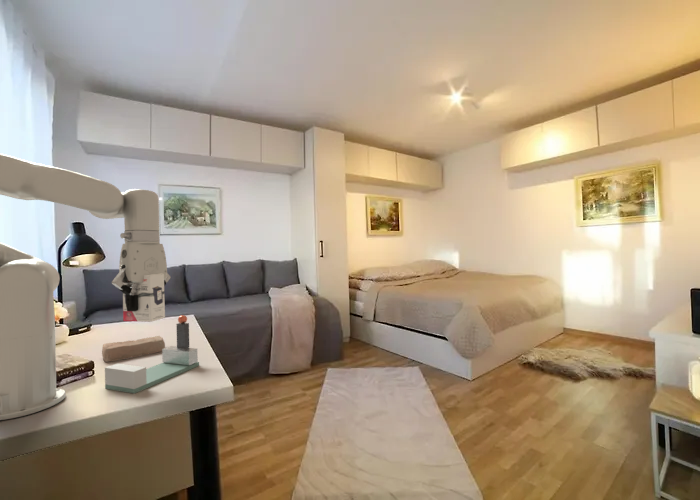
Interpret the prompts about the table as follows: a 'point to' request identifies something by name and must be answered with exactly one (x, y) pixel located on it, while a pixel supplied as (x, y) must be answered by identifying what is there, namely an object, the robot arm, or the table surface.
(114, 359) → the brick
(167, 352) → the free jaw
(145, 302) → the ink box
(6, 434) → the table surface
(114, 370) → the vise
